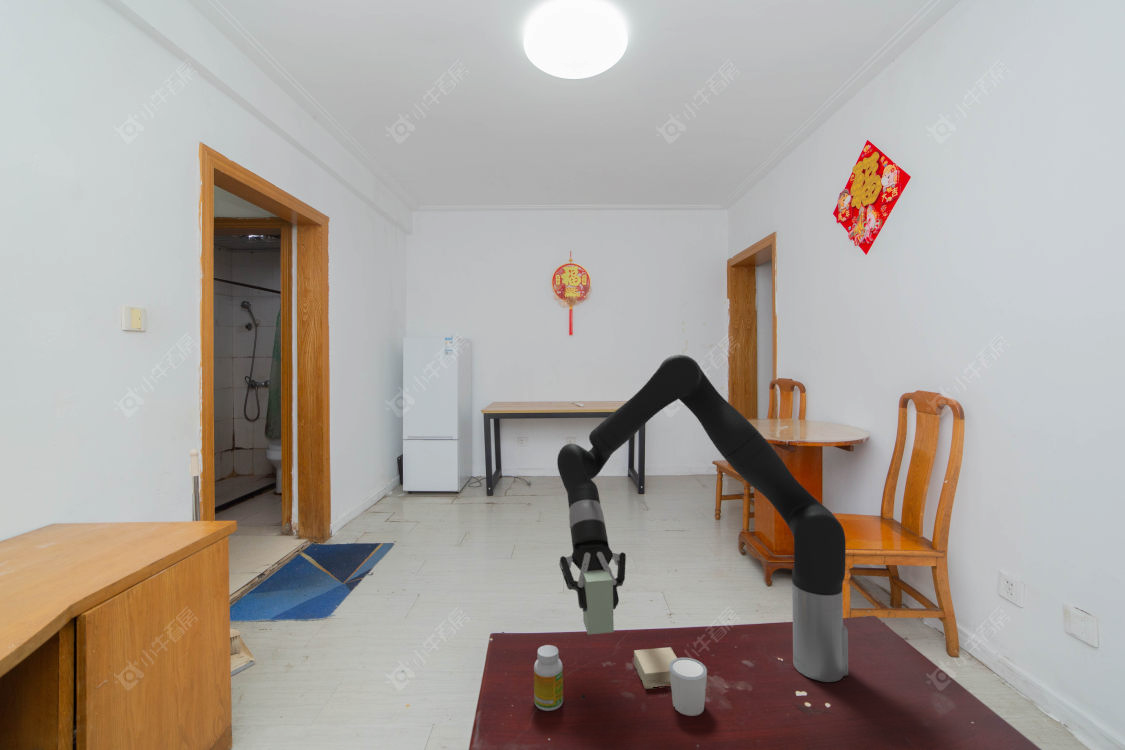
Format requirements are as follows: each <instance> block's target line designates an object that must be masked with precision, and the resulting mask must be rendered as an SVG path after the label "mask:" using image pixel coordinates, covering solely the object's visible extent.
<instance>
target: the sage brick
mask: <svg viewBox="0 0 1125 750" xmlns="http://www.w3.org/2000/svg"><path fill="white" fill-rule="evenodd" d="M583 577H584V588H585V593H586V601H587V611H584V612H583V611H582V614H583V616H582V617H583V625H584V627H585V631H586V633H587V635H597V634H598V635H599V634H609V633H614V631H615V630H614V629H615V628H614V626H615V625H614V621H615V620H614V609H613V580H612V578H611V576H610V574H609V572H605V571H604V570H594V571H587V573H583Z"/></svg>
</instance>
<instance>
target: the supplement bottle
mask: <svg viewBox="0 0 1125 750" xmlns="http://www.w3.org/2000/svg"><path fill="white" fill-rule="evenodd" d="M536 657H537V659H536V660H535V662H534V665H533V680H534V681H533V686H534V687H533V688H534V689H533V691H534V692H533V693H534V694H533V695H534V698H533V700H534V704H535V706H536V707H537V708H538V709H539V710H542V711H546V712H549V711H551V712H552V711H555V710H557V709H559V708H560V707H561V706H562V704H563V702H564V682H563V681H564V679H563V677H564V675H563V673H564V672H563V669H564V667H563V662H562V661H561V659H560V657H559V649H558V647H556V646H555V645H552V644H545V645H542V646H540V647H538V649H537V656H536Z"/></svg>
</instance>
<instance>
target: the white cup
mask: <svg viewBox="0 0 1125 750" xmlns="http://www.w3.org/2000/svg"><path fill="white" fill-rule="evenodd" d="M669 670H670V680H671V686H670V688H671V697H672V706H673V708H674V707H675V708H674V709H675V710H676V711H678V713H680V714H682V715H685V716H690V717H691V716H692V717H694V716H699V715H701V714H702V713H704V710H705V703H706V701H705V700H706V687H707V678H708V677H707V676H708V669H707V667H706V665H705V664H703V662H701V661H699V660H697V659H696V658H695V659H694V658H690V657H677V659H674V660H673V661H671V662H670V664H669Z"/></svg>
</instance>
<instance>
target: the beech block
mask: <svg viewBox="0 0 1125 750" xmlns="http://www.w3.org/2000/svg"><path fill="white" fill-rule="evenodd" d="M677 658H678V657H677V656H676V654H675V653H674V651H673V648H672V647H671V646H669V647H668V646H667V647H658V648H656V647H655V648H646V649H637V650H636V649H635V650H633V665H634V668H635V669H637V670H636V671H637V674H638V676H639V679H640V681H641V680H642V681H641V683H642V684H643V688H644V690H646V689H647V690H648V689H654V688H653V687H658V686H665V685H671V680H670V670H669V664H670V662H671V661H673V660H674V659H677Z"/></svg>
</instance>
